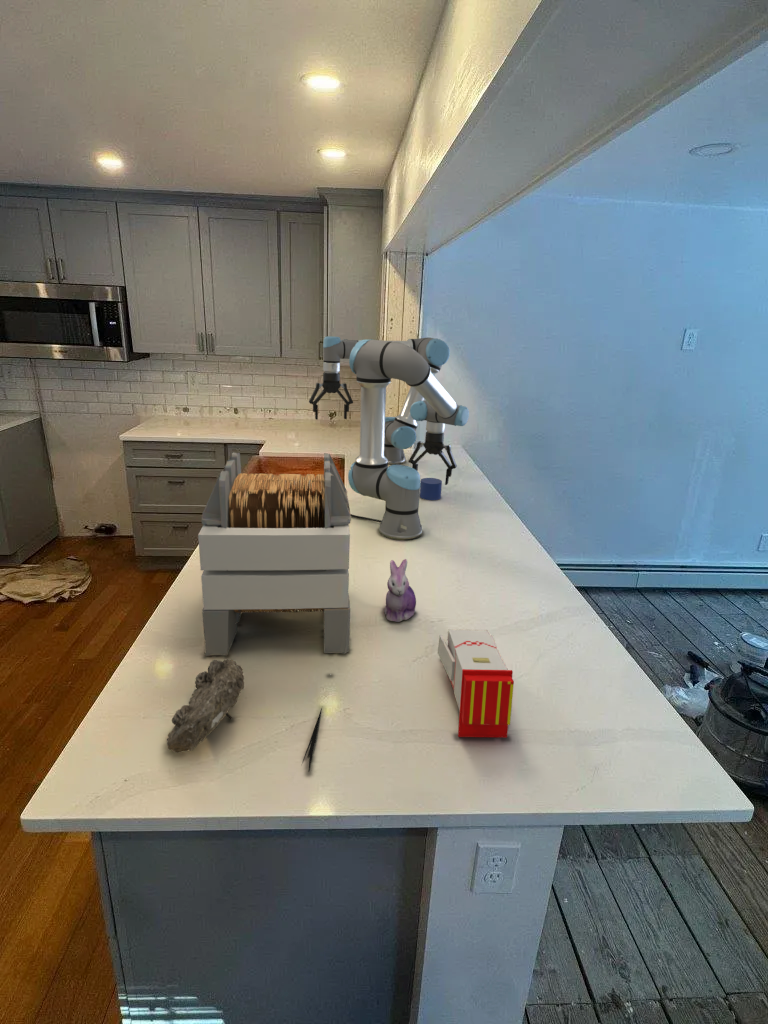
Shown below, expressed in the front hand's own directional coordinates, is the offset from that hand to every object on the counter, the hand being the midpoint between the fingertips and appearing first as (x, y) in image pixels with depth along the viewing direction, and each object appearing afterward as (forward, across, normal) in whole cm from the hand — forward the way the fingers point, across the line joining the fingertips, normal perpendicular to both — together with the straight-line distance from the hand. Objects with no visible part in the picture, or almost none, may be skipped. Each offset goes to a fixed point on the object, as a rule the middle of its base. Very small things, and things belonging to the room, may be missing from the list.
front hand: (430, 481), depth 238 cm
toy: (+9, -39, +124) cm, 130 cm away
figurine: (+9, -16, +98) cm, 100 cm away
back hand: (-18, +54, -18) cm, 59 cm away
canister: (+7, 0, 0) cm, 7 cm away
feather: (+9, -14, +142) cm, 143 cm away
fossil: (+10, +6, +149) cm, 150 cm away
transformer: (+9, +11, +112) cm, 113 cm away
